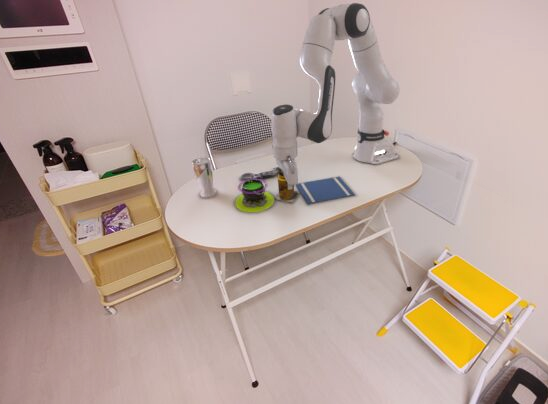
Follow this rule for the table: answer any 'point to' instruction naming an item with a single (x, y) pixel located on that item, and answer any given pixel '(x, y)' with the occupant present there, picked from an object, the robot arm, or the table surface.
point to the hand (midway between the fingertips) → (287, 184)
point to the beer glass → (204, 176)
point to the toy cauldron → (254, 196)
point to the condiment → (285, 189)
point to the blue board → (324, 190)
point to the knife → (260, 174)
